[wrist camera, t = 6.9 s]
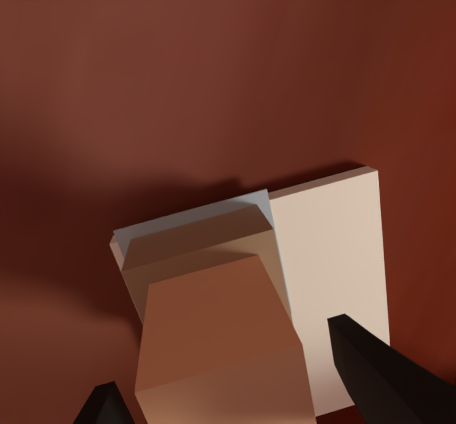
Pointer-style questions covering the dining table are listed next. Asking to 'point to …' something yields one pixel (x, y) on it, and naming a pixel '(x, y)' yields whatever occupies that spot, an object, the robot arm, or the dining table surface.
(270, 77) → the dining table surface
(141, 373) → the terracotta block
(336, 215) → the board
